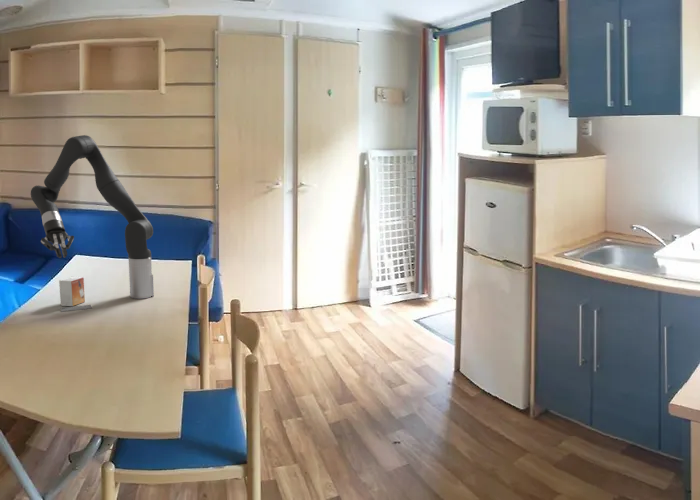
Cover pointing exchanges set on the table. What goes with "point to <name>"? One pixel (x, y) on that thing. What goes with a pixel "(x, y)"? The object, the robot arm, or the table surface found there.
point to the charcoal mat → (75, 308)
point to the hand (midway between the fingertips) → (62, 256)
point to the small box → (72, 291)
